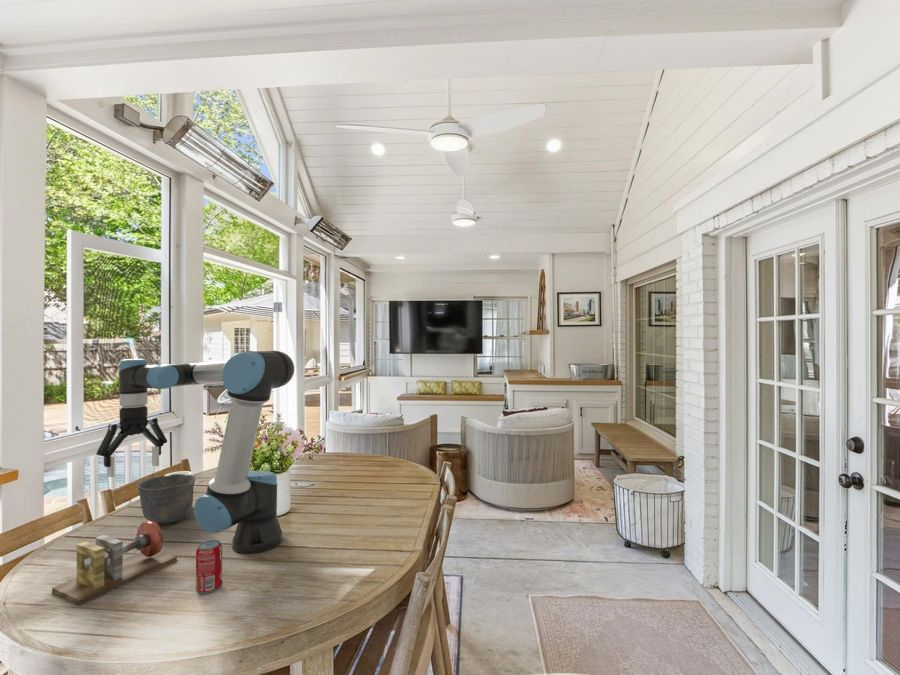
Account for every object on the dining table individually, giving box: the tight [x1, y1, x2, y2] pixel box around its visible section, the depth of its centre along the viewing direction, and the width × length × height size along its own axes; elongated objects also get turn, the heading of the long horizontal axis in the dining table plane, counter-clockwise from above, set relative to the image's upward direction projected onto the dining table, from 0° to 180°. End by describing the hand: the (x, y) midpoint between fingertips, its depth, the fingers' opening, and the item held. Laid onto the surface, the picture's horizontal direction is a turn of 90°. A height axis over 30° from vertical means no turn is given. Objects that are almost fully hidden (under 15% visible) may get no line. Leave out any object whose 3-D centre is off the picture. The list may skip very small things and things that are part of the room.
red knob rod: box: [84, 520, 164, 568], centre depth 127 cm, size 10×17×10 cm, turn 155°
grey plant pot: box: [136, 474, 196, 524], centre depth 164 cm, size 18×18×15 cm
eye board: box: [51, 534, 178, 606], centre depth 126 cm, size 13×25×11 cm, turn 155°
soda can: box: [195, 539, 223, 595], centre depth 120 cm, size 6×6×12 cm
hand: (134, 471), depth 146 cm, fingers open, 13 cm apart
